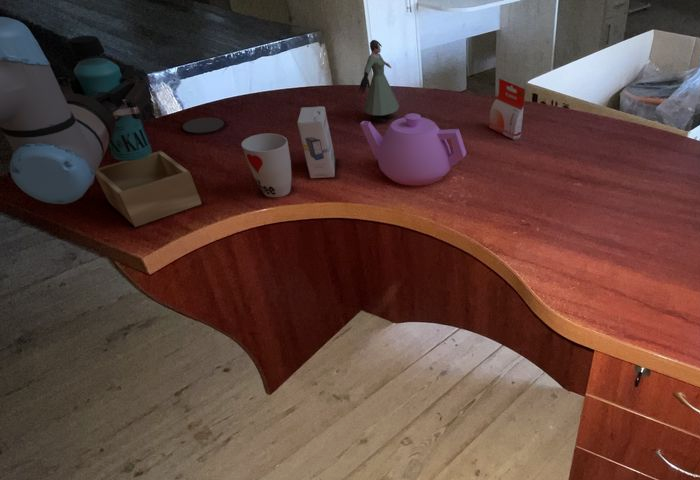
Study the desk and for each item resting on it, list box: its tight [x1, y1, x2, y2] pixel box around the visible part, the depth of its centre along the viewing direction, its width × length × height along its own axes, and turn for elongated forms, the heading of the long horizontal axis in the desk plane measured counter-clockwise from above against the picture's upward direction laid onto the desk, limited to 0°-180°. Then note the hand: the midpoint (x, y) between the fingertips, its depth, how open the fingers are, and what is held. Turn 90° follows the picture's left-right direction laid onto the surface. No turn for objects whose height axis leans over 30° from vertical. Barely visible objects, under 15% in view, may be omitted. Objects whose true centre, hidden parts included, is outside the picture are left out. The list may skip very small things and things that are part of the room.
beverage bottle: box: [69, 35, 153, 162], centre depth 89 cm, size 6×7×20 cm
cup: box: [241, 133, 293, 198], centre depth 104 cm, size 8×8×10 cm
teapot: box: [359, 112, 467, 187], centre depth 112 cm, size 22×16×12 cm
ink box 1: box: [296, 105, 336, 179], centre depth 111 cm, size 9×5×12 cm, turn 10°
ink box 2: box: [488, 78, 526, 140], centre depth 129 cm, size 3×9×12 cm, turn 42°
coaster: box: [182, 116, 225, 135], centre depth 127 cm, size 9×9×1 cm
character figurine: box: [358, 39, 400, 123], centre depth 129 cm, size 16×8×18 cm, turn 163°
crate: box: [94, 150, 202, 228], centre depth 100 cm, size 12×12×6 cm
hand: (109, 75), depth 91 cm, fingers closed on beverage bottle, 6 cm apart
